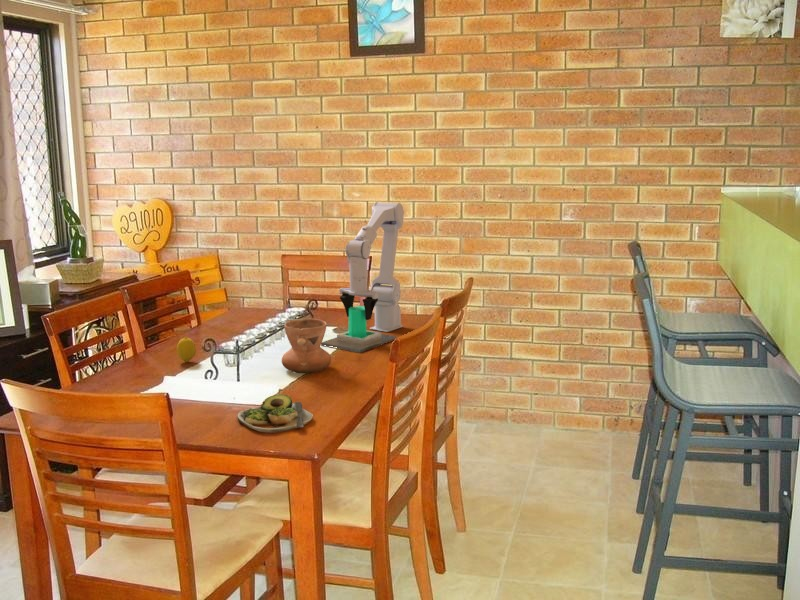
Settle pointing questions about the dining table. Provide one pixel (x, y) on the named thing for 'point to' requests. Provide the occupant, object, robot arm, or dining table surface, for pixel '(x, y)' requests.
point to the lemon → (186, 349)
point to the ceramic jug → (306, 346)
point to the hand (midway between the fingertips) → (359, 317)
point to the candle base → (358, 341)
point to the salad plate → (276, 415)
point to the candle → (357, 322)
